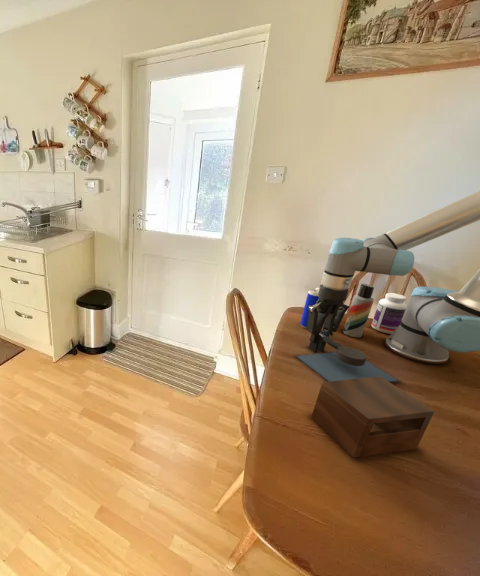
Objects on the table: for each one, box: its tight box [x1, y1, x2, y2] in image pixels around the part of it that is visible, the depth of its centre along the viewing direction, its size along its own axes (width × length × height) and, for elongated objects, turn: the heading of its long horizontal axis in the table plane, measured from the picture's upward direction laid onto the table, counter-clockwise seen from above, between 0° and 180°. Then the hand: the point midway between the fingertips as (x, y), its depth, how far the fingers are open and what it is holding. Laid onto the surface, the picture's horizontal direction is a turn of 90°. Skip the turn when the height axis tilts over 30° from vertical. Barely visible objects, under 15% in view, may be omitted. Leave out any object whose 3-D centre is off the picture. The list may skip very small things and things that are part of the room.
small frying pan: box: [309, 332, 368, 366], centre depth 101 cm, size 7×20×3 cm, turn 8°
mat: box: [296, 351, 399, 384], centre depth 98 cm, size 20×16×1 cm
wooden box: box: [310, 376, 436, 459], centre depth 73 cm, size 16×12×11 cm
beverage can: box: [299, 288, 319, 329], centre depth 122 cm, size 5×5×15 cm
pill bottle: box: [370, 292, 408, 335], centre depth 119 cm, size 8×8×14 cm
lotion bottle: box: [342, 283, 375, 338], centre depth 115 cm, size 6×6×20 cm
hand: (316, 349), depth 108 cm, fingers closed on small frying pan, 2 cm apart
